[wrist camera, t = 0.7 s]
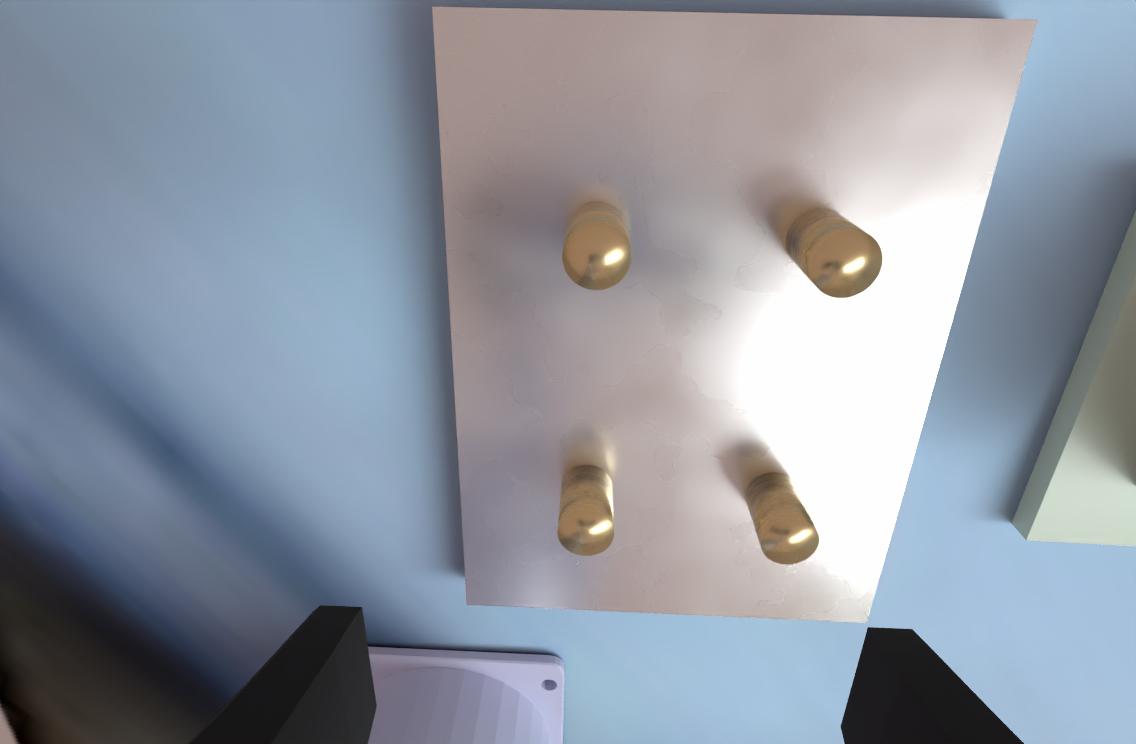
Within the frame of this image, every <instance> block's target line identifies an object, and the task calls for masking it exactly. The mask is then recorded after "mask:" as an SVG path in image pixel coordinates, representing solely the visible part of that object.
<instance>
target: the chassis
mask: <svg viewBox="0 0 1136 744" xmlns="http://www.w3.org/2000/svg"><path fill="white" fill-rule="evenodd" d="M432 15H433V32H434V49H435V66H436V84H437V101H438V118H439V135H440V153H441V170H442V187H443V204H444V221H445V239H446V256H447V273H448V290H449V308H450V325H451V342H452V359H453V377H454V394H455V411H456V428H457V445H458V463H459V480H460V497H461V514H462V532H463V549H464V566H465V583H466V600H467V605H483V606H505V607H528V608H550V609H572V610H594V611H616V612H639V613H661V614H683V615H705V616H727V617H750V618H772V619H794V620H816V621H838V622H861V623H867V619H868V616H869V612H870V609H871V605H872V602H873V598H874V595H875V591H876V588H877V584H878V581H879V577H880V574H881V570H882V567H883V563H884V559H885V556H886V552H887V549H888V545H889V542H890V538H891V535H892V531H893V528H894V524H895V521H896V517H897V514H898V510H899V507H900V503H901V500H902V496H903V492H904V489H905V485H906V482H907V478H908V475H909V471H910V468H911V464H912V461H913V457H914V454H915V450H916V447H917V443H918V440H919V436H920V433H921V429H922V426H923V422H924V418H925V415H926V411H927V408H928V404H929V401H930V397H931V394H932V390H933V387H934V383H935V380H936V376H937V373H938V369H939V366H940V362H941V359H942V355H943V351H944V348H945V344H946V341H947V337H948V334H949V330H950V327H951V323H952V320H953V316H954V313H955V309H956V306H957V302H958V299H959V295H960V292H961V288H962V285H963V281H964V277H965V274H966V270H967V267H968V263H969V260H970V256H971V253H972V249H973V246H974V242H975V239H976V235H977V232H978V228H979V225H980V221H981V218H982V214H983V210H984V207H985V203H986V200H987V196H988V193H989V189H990V186H991V182H992V179H993V175H994V172H995V168H996V165H997V161H998V158H999V154H1000V151H1001V147H1002V143H1003V140H1004V136H1005V133H1006V129H1007V126H1008V122H1009V119H1010V115H1011V112H1012V108H1013V105H1014V101H1015V98H1016V94H1017V91H1018V87H1019V84H1020V80H1021V77H1022V73H1023V69H1024V66H1025V62H1026V59H1027V55H1028V52H1029V48H1030V45H1031V41H1032V38H1033V34H1034V31H1035V27H1036V24H1037V20H1034V19H988V18H941V17H894V16H847V15H801V14H754V13H707V12H661V11H614V10H567V9H521V8H474V7H432Z"/></svg>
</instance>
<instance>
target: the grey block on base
mask: <svg viewBox="0 0 1136 744" xmlns="http://www.w3.org/2000/svg"><path fill="white" fill-rule="evenodd" d="M1012 524H1013V526H1014V527H1015V528H1016V529H1017V530H1018V531H1019V532H1020V534H1021V535H1022V536H1023V537H1024V538H1025V539H1026V540H1031V541H1049V542H1067V543H1086V544H1104V545H1122V546H1136V210H1135V213H1134V216H1133V218H1132V221H1131V223H1130V226H1129V228H1128V231H1127V233H1126V236H1125V238H1124V241H1123V243H1122V246H1121V248H1120V251H1119V253H1118V256H1117V258H1116V261H1115V264H1114V266H1113V269H1112V271H1111V274H1110V276H1109V279H1108V281H1107V284H1106V286H1105V289H1104V291H1103V294H1102V296H1101V299H1100V301H1099V304H1098V306H1097V309H1096V312H1095V314H1094V317H1093V319H1092V322H1091V324H1090V327H1089V329H1088V332H1087V334H1086V337H1085V339H1084V342H1083V344H1082V347H1081V349H1080V352H1079V354H1078V357H1077V360H1076V362H1075V365H1074V367H1073V370H1072V372H1071V375H1070V377H1069V380H1068V382H1067V385H1066V387H1065V390H1064V392H1063V395H1062V397H1061V400H1060V402H1059V405H1058V408H1057V410H1056V413H1055V415H1054V418H1053V420H1052V423H1051V425H1050V428H1049V430H1048V433H1047V435H1046V438H1045V440H1044V443H1043V445H1042V448H1041V450H1040V453H1039V456H1038V458H1037V461H1036V463H1035V466H1034V468H1033V471H1032V473H1031V476H1030V478H1029V481H1028V483H1027V486H1026V488H1025V491H1024V493H1023V496H1022V498H1021V501H1020V504H1019V506H1018V509H1017V511H1016V514H1015V516H1014V519H1013V521H1012Z"/></svg>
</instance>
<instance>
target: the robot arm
mask: <svg viewBox="0 0 1136 744" xmlns="http://www.w3.org/2000/svg"><path fill="white" fill-rule="evenodd" d="M564 675H565V666H564V662H563V661H562V660H561V659H560V658H558V657H556V656H552V655H537V654H516V653H494V652H473V651H452V650H430V649H409V648H388V647H368V644H367V638H366V631H365V625H364V618H363V612H362V607H344V606H319V607H318V608H317V609H316V610H314V611H313V612H312V613H311V615H310V616H309V617H308V618H307V619H306V620H305V621H304V622H303V623H302V624H301V625H300V626H299V628H298V629H297V630H296V631H295V632H294V633H293V634H292V635H291V636H290V637H289V638H288V640H287V641H286V642H285V643H284V644H283V645H282V646H281V647H280V648H279V649H278V650H277V652H276V653H275V654H274V655H273V656H272V657H271V658H270V659H269V660H268V661H267V662H266V663H265V665H264V666H263V667H262V668H261V669H260V670H259V671H258V672H257V673H256V674H255V675H254V676H253V677H252V678H251V679H250V681H249V682H248V683H247V684H246V685H245V686H244V687H243V688H242V689H241V690H240V691H239V692H238V693H237V694H236V695H235V696H234V697H233V698H232V699H231V700H230V701H229V702H228V703H227V704H226V705H225V707H224V708H223V709H222V710H221V711H220V712H219V713H218V714H217V715H216V716H215V717H214V718H213V719H212V720H211V721H210V722H209V723H208V724H207V725H206V726H205V727H204V728H203V729H202V730H201V731H200V732H199V733H198V734H197V735H196V736H195V737H194V738H193V739H192V740H191V741H190V742H189V743H188V744H563V714H564ZM548 680H552V681H548ZM841 730H842V734H843V738H844V742H845V744H1024V743H1023V742H1022V741H1021V740H1020V739H1019V738H1018V737H1017V736H1016V735H1015V734H1014V733H1013V732H1012V731H1011V730H1010V729H1009V728H1008V727H1007V726H1006V725H1005V724H1004V723H1003V722H1002V721H1001V720H1000V719H999V718H998V717H997V716H996V715H995V714H994V713H993V712H992V711H991V710H990V709H989V708H988V707H987V706H986V705H985V704H984V702H983V701H982V700H981V699H980V698H979V697H978V696H977V695H976V694H975V693H974V692H973V691H972V690H971V689H970V688H969V687H968V686H967V685H966V684H965V683H964V682H963V681H962V680H961V679H960V678H959V677H958V676H957V675H956V674H955V673H954V672H953V671H952V670H951V668H950V667H949V666H948V665H947V664H946V663H945V662H944V661H943V660H942V659H941V658H940V657H939V656H938V655H937V654H936V653H935V652H934V651H933V650H932V649H931V648H930V647H929V646H928V645H927V644H926V643H925V642H924V641H923V640H922V639H921V638H920V637H919V636H918V635H917V634H916V633H915V632H914V631H913V630H912V629H895V628H870V627H868V629H867V633H866V637H865V640H864V644H863V648H862V651H861V655H860V658H859V662H858V666H857V669H856V673H855V677H854V680H853V684H852V688H851V691H850V695H849V698H848V702H847V706H846V709H845V713H844V717H843V720H842V724H841Z"/></svg>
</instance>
